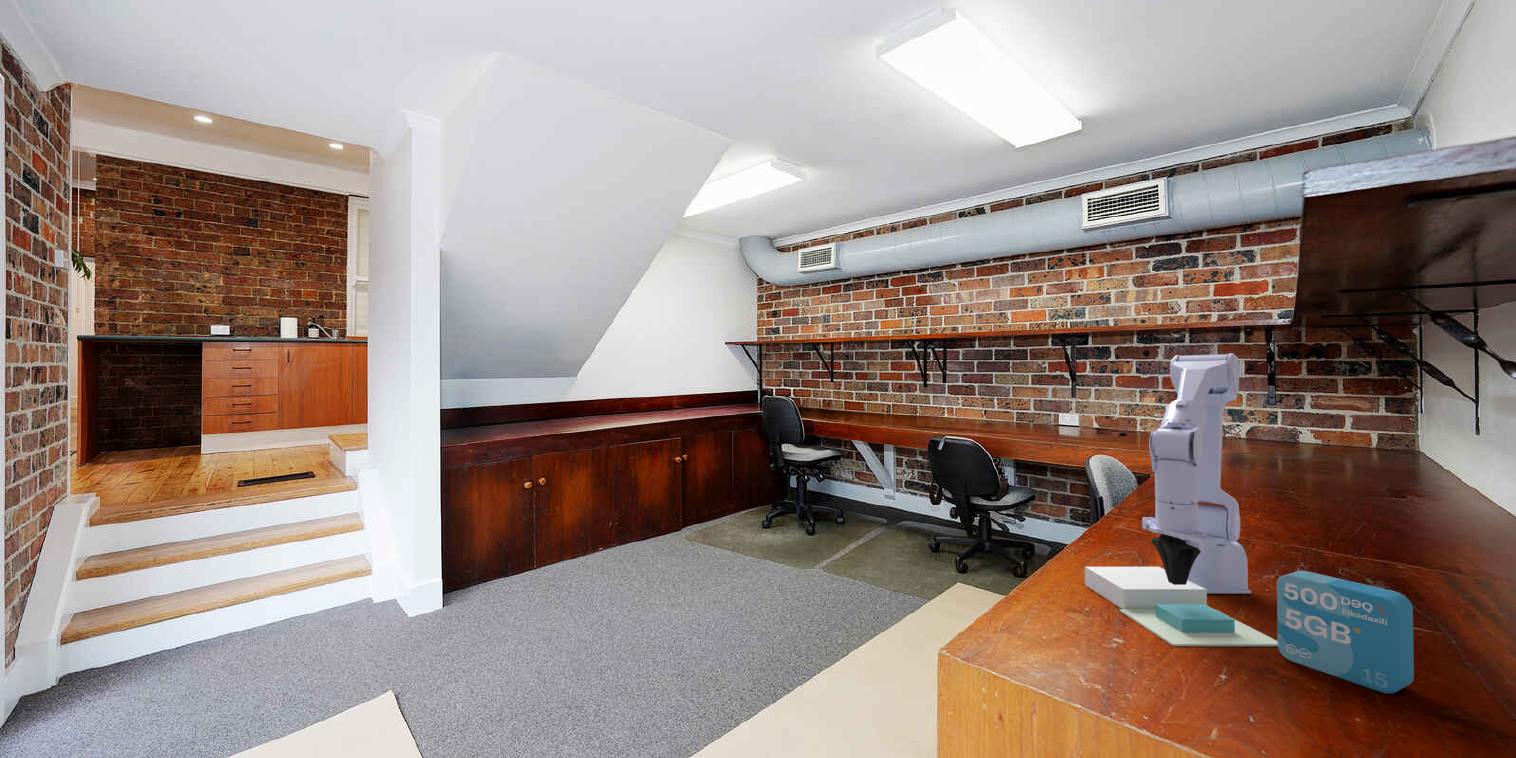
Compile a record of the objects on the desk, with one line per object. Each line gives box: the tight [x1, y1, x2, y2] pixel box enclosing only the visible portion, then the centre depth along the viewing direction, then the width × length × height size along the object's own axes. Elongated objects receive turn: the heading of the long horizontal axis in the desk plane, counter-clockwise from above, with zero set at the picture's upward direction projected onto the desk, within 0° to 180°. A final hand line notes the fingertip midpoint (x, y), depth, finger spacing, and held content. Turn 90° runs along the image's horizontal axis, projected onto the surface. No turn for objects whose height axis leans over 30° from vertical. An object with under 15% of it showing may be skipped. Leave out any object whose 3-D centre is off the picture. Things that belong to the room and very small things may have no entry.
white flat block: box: [1084, 566, 1208, 609], centre depth 104 cm, size 14×12×4 cm
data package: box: [1276, 570, 1415, 694], centre depth 76 cm, size 12×4×12 cm, turn 26°
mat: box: [1119, 608, 1278, 647], centre depth 90 cm, size 16×13×1 cm
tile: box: [1156, 604, 1236, 633], centre depth 91 cm, size 8×6×2 cm
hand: (1177, 583), depth 95 cm, fingers closed
